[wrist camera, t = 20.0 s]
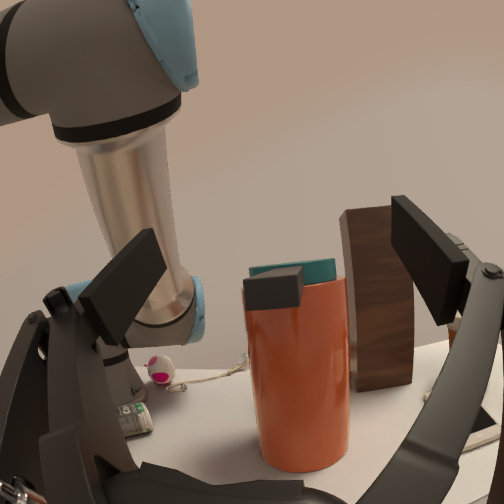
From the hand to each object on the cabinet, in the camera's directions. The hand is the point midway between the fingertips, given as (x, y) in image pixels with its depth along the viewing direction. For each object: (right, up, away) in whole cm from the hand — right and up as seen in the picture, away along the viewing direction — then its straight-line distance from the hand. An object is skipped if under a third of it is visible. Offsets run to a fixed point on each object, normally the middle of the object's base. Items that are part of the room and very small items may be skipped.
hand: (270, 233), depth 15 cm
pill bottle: (-16, -25, +20) cm, 36 cm away
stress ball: (-23, -25, +37) cm, 50 cm away
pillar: (+22, -24, +30) cm, 44 cm away
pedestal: (+6, -25, +14) cm, 29 cm away
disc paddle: (+2, -4, +9) cm, 10 cm away
